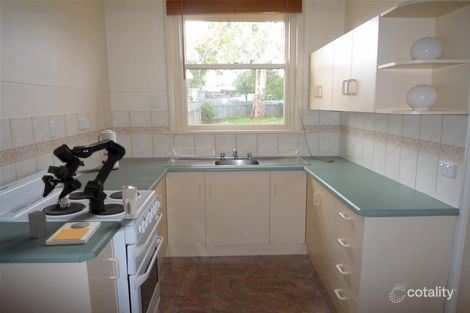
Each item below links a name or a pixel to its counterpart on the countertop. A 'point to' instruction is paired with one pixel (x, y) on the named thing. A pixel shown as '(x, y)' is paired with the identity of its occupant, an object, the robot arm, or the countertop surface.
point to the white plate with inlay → (74, 233)
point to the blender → (105, 135)
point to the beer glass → (130, 201)
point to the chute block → (37, 224)
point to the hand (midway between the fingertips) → (51, 198)
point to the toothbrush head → (65, 201)
